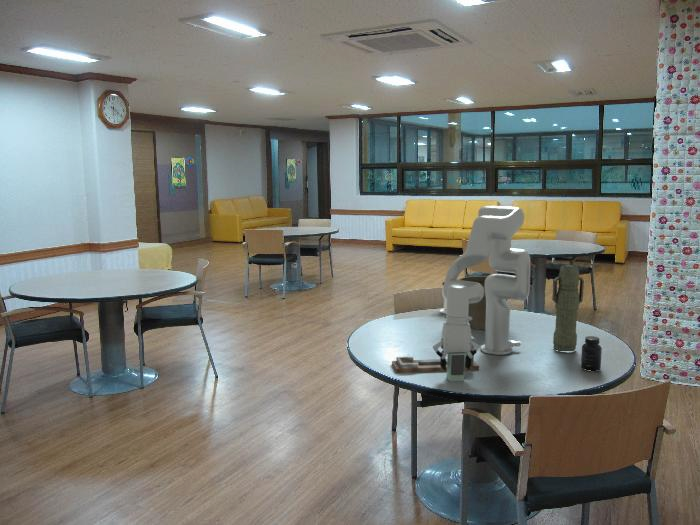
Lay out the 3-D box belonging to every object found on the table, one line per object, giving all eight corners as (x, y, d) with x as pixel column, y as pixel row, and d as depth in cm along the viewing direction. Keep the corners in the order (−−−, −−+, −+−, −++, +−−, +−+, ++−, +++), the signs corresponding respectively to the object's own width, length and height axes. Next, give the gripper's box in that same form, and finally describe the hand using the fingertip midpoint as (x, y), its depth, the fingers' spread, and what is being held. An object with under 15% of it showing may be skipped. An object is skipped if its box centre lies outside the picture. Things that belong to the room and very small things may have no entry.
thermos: (545, 347, 246) (550, 264, 240) (572, 346, 247) (577, 263, 242) (555, 353, 237) (560, 267, 232) (583, 352, 239) (589, 267, 233)
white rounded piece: (467, 312, 304) (468, 284, 301) (450, 315, 298) (451, 286, 295) (451, 307, 314) (452, 280, 311) (435, 310, 308) (435, 282, 306)
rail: (471, 361, 227) (472, 332, 225) (479, 369, 218) (480, 339, 217) (391, 364, 224) (392, 335, 222) (396, 372, 215) (396, 342, 213)
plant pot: (501, 336, 261) (503, 288, 258) (448, 328, 274) (449, 282, 270) (516, 323, 283) (518, 279, 279) (466, 317, 295) (467, 274, 292)
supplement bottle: (584, 364, 224) (586, 334, 222) (602, 368, 220) (605, 337, 218) (578, 369, 219) (580, 338, 217) (597, 373, 215) (599, 341, 213)
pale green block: (464, 381, 207) (465, 354, 205) (450, 382, 206) (451, 354, 204) (460, 376, 211) (461, 349, 210) (446, 377, 211) (447, 350, 209)
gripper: (477, 316, 210) (476, 364, 213) (429, 318, 208) (428, 365, 211) (485, 322, 203) (483, 371, 206) (435, 323, 201) (434, 373, 204)
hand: (455, 368), depth 208 cm, fingers open, 8 cm apart
